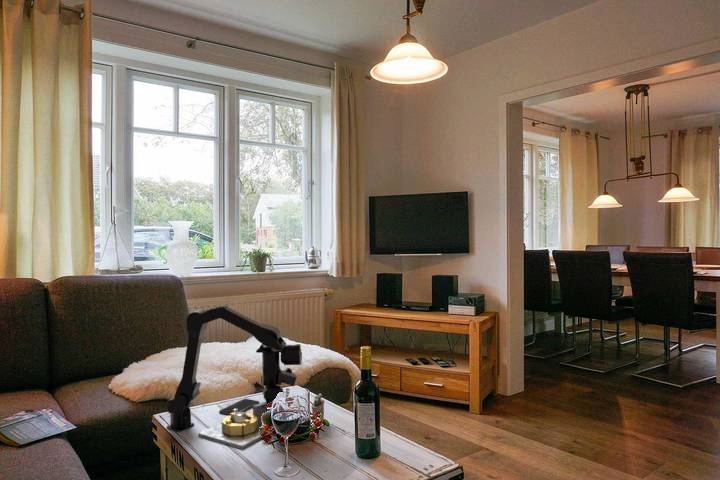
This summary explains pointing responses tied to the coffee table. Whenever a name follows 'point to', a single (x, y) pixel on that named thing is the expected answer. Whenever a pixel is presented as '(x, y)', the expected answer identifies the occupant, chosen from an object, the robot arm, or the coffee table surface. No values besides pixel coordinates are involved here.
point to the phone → (239, 406)
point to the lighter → (318, 405)
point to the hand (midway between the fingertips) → (271, 411)
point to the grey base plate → (232, 440)
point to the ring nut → (248, 424)
